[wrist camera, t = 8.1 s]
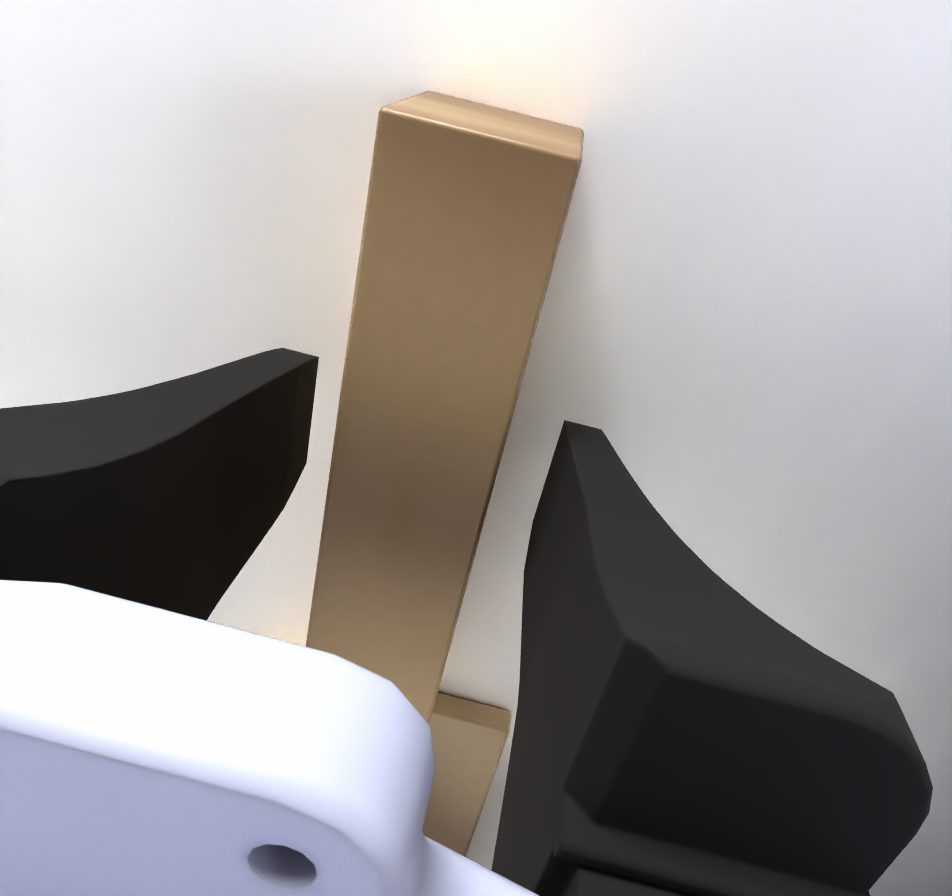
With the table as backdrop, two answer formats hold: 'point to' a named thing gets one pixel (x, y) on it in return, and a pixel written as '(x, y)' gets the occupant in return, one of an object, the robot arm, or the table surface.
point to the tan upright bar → (435, 405)
